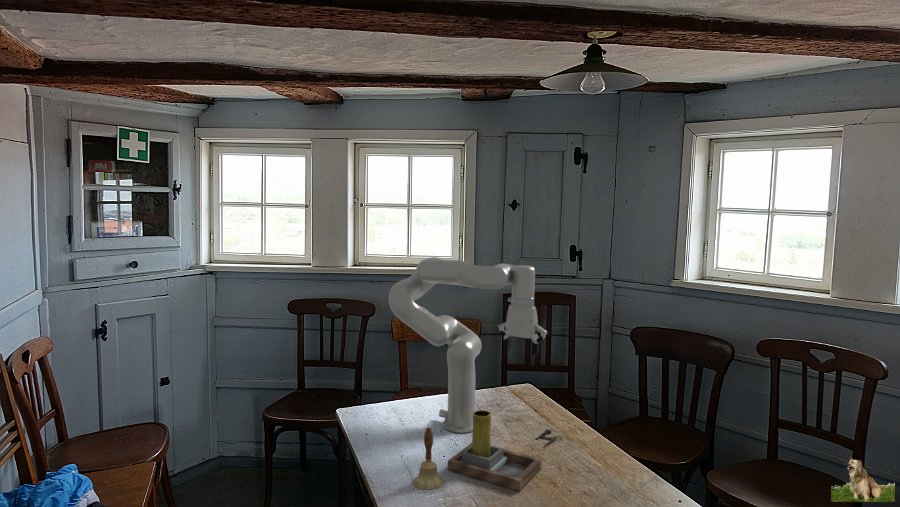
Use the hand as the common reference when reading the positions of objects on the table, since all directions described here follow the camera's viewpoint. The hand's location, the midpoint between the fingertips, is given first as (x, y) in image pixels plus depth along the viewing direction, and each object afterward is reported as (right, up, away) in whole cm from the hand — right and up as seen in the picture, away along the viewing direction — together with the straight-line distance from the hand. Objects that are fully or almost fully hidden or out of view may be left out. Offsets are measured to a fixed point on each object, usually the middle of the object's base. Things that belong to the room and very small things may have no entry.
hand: (521, 352), depth 193 cm
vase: (-15, -29, -21) cm, 39 cm away
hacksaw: (+7, -30, -7) cm, 31 cm away
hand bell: (-30, -31, -32) cm, 54 cm away
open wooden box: (-11, -31, -24) cm, 40 cm away
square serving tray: (-14, -30, -22) cm, 40 cm away
